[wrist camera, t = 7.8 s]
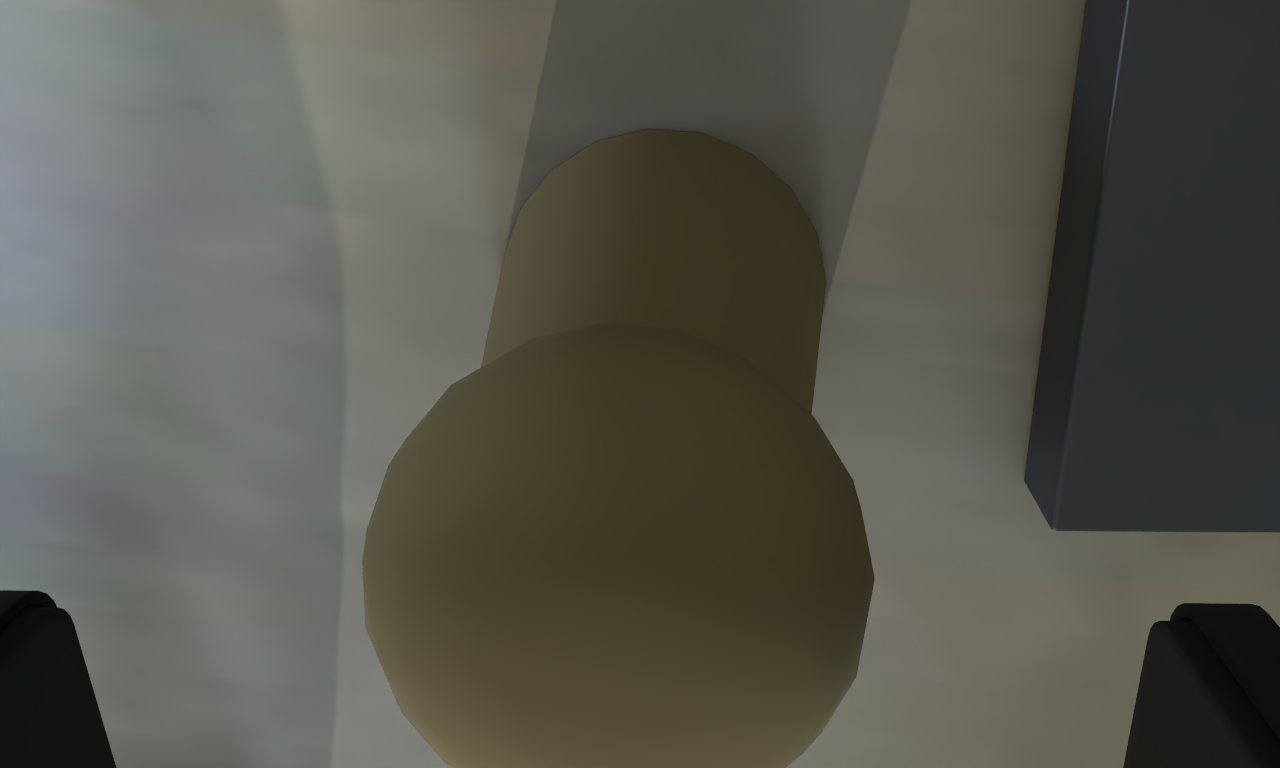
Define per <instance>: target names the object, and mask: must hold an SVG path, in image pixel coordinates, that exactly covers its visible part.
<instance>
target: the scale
mask: <svg viewBox="0 0 1280 768" xmlns="http://www.w3.org/2000/svg"><path fill="white" fill-rule="evenodd" d="M1024 480H1025V483H1026V485H1027V487H1028V488H1029V490H1030V492H1031V494H1032V496H1033V497H1034V499H1035V501H1036V503H1037V504H1038V506H1039V508H1040V510H1041V512H1042V513H1043V515H1044V517H1045V519H1046V521H1047V522H1048V524H1049V526H1050V528H1051V529H1052V530H1055V531H1155V532H1280V0H1086V5H1085V13H1084V20H1083V28H1082V36H1081V44H1080V51H1079V59H1078V67H1077V75H1076V82H1075V90H1074V98H1073V106H1072V113H1071V121H1070V129H1069V137H1068V145H1067V152H1066V160H1065V168H1064V176H1063V183H1062V191H1061V199H1060V207H1059V214H1058V222H1057V230H1056V238H1055V245H1054V253H1053V261H1052V269H1051V277H1050V284H1049V292H1048V300H1047V308H1046V315H1045V323H1044V331H1043V339H1042V346H1041V354H1040V362H1039V370H1038V377H1037V385H1036V393H1035V401H1034V408H1033V416H1032V424H1031V432H1030V440H1029V447H1028V455H1027V463H1026V471H1025V478H1024Z"/></svg>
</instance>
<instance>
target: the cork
mask: <svg viewBox="0 0 1280 768" xmlns="http://www.w3.org/2000/svg"><path fill="white" fill-rule="evenodd" d="M825 286H826V280H825V275H824V269H823V264H822V259H821V254H820V248H819V243H818V238H817V233H816V231H815V230H814V228H813V226H812V224H811V223H810V221H809V219H808V217H807V216H806V214H805V212H804V210H803V209H802V207H801V205H800V203H799V202H798V200H797V198H796V196H795V195H794V193H793V191H792V189H791V188H790V187H789V186H787V185H786V184H785V183H784V182H783V181H782V180H781V179H779V178H778V177H777V176H776V175H775V174H774V173H773V172H771V171H770V170H769V169H768V168H767V167H766V166H765V165H763V164H762V163H761V162H760V161H759V160H758V159H757V158H756V157H754V156H753V155H752V154H750V153H748V152H746V151H743V150H741V149H739V148H736V147H734V146H732V145H729V144H727V143H724V142H722V141H720V140H717V139H715V138H713V137H710V136H708V135H705V134H703V133H695V132H683V131H670V130H658V129H645V130H641V131H637V132H633V133H629V134H624V135H620V136H616V137H612V138H608V139H604V140H600V141H596V142H595V143H593V144H591V145H590V146H588V147H587V148H585V149H583V150H582V151H580V152H579V153H577V154H576V155H574V156H572V157H571V158H569V159H568V160H566V161H565V162H563V163H561V164H560V165H558V166H557V167H555V168H553V169H552V170H551V171H550V173H549V174H548V175H547V176H546V178H545V179H544V180H543V181H542V183H541V184H540V185H539V186H538V188H537V189H536V190H535V191H534V193H533V194H532V195H531V196H530V198H529V199H528V200H527V201H526V203H525V204H524V205H523V206H522V208H521V209H520V212H519V215H518V217H517V220H516V223H515V226H514V229H513V231H512V234H511V237H510V240H509V243H508V245H507V248H506V251H505V254H504V258H503V263H502V268H501V273H500V277H499V282H498V287H497V292H496V297H495V302H494V307H493V312H492V317H491V322H490V326H489V331H488V336H487V341H486V346H485V351H484V356H483V361H482V366H481V368H480V369H478V370H476V371H475V372H473V373H471V374H469V375H468V376H466V377H464V378H463V379H461V380H459V381H458V382H456V383H454V384H452V385H451V386H450V387H449V388H448V390H447V391H446V392H445V393H444V394H443V395H442V397H441V398H440V399H439V400H438V401H437V403H436V404H435V405H434V406H433V407H432V409H431V410H430V411H429V412H428V413H427V415H426V416H425V417H424V418H423V419H422V421H421V422H420V423H419V424H418V425H417V427H416V428H415V429H414V430H413V431H412V432H411V434H410V435H409V436H408V437H407V438H406V440H405V441H404V443H403V444H402V446H401V447H400V449H399V450H398V452H397V453H396V455H395V456H394V458H393V459H392V461H391V462H390V464H389V466H388V469H387V472H386V475H385V478H384V480H383V483H382V486H381V489H380V492H379V495H378V498H377V501H376V504H375V507H374V510H373V513H372V516H371V519H370V522H369V525H368V528H367V531H366V539H365V547H364V554H363V562H362V565H363V585H364V605H365V625H366V630H367V633H368V635H369V637H370V640H371V642H372V644H373V647H374V649H375V651H376V654H377V656H378V659H379V661H380V663H381V666H382V668H383V670H384V673H385V675H386V677H387V680H388V682H389V684H390V687H391V689H392V691H393V694H394V696H395V698H396V700H397V703H398V705H399V707H400V710H401V712H402V714H403V715H404V716H405V717H406V719H407V720H408V721H409V722H410V723H411V724H412V725H413V727H414V728H415V729H416V730H417V731H418V732H419V733H420V735H421V736H422V737H423V738H424V739H425V740H426V742H427V743H428V744H429V745H430V746H431V747H432V748H433V750H434V751H435V752H436V753H437V754H438V755H439V757H440V758H441V759H442V760H443V761H444V762H445V763H447V764H449V765H450V766H452V767H453V768H786V767H787V766H788V765H789V764H791V763H792V762H793V761H794V760H795V759H797V758H798V757H799V756H800V755H802V754H803V753H804V751H805V750H806V749H807V748H808V747H809V746H810V745H811V744H812V743H813V741H814V740H815V739H816V738H817V737H818V736H819V735H820V734H821V733H822V731H823V729H824V728H825V726H826V724H827V723H828V721H829V720H830V718H831V716H832V715H833V713H834V712H835V710H836V708H837V707H838V705H839V704H840V702H841V700H842V699H843V697H844V696H845V694H846V692H847V691H848V689H849V688H850V686H851V684H852V683H853V681H854V679H855V678H856V675H857V670H858V665H859V659H860V654H861V649H862V643H863V638H864V633H865V628H866V622H867V617H868V612H869V606H870V601H871V595H872V590H873V584H874V579H875V578H874V573H873V568H872V563H871V557H870V552H869V547H868V542H867V537H866V532H865V526H864V521H863V516H862V511H861V507H860V503H859V500H858V496H857V493H856V489H855V486H854V482H853V479H852V478H851V476H850V474H849V473H848V471H847V470H846V468H845V466H844V465H843V463H842V461H841V460H840V458H839V456H838V455H837V453H836V452H835V450H834V448H833V447H832V445H831V443H830V442H829V440H828V439H827V437H826V435H825V434H824V432H823V430H822V429H821V427H820V426H819V424H818V422H817V421H816V419H815V418H814V417H813V416H812V415H811V413H812V404H813V395H814V386H815V377H816V368H817V359H818V350H819V340H820V331H821V322H822V313H823V304H824V295H825Z"/></svg>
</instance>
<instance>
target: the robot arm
mask: <svg viewBox="0 0 1280 768" xmlns="http://www.w3.org/2000/svg"><path fill="white" fill-rule="evenodd" d="M0 768H116V765H115V762H114V758H113V755H112V752H111V748H110V745H109V741H108V738H107V735H106V731H105V728H104V725H103V721H102V718H101V714H100V711H99V708H98V704H97V701H96V698H95V694H94V691H93V687H92V684H91V681H90V677H89V674H88V670H87V667H86V664H85V660H84V657H83V654H82V650H81V647H80V643H79V640H78V637H77V633H76V630H75V626H74V623H73V621H72V619H71V616H70V615H69V614H68V613H67V612H66V611H65V610H64V609H61V608H57V606H56V604H55V602H54V600H53V599H52V598H51V597H50V596H49V595H48V594H46V593H43V592H40V591H0ZM1123 768H1280V627H1279V626H1278V625H1277V624H1276V622H1275V621H1274V620H1273V619H1272V618H1271V616H1270V615H1269V614H1268V613H1267V612H1266V611H1265V610H1263V609H1262V608H1261V607H1260V606H1257V605H1253V604H1202V603H1183V604H1181V605H1179V606H1177V607H1176V609H1175V610H1174V612H1173V613H1172V615H1171V619H1170V621H1158V622H1155V623H1154V624H1153V626H1152V627H1151V629H1150V632H1149V636H1148V640H1147V646H1146V651H1145V656H1144V661H1143V667H1142V672H1141V677H1140V683H1139V688H1138V693H1137V698H1136V704H1135V709H1134V714H1133V720H1132V725H1131V730H1130V736H1129V741H1128V746H1127V751H1126V757H1125V762H1124V767H1123Z"/></svg>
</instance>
